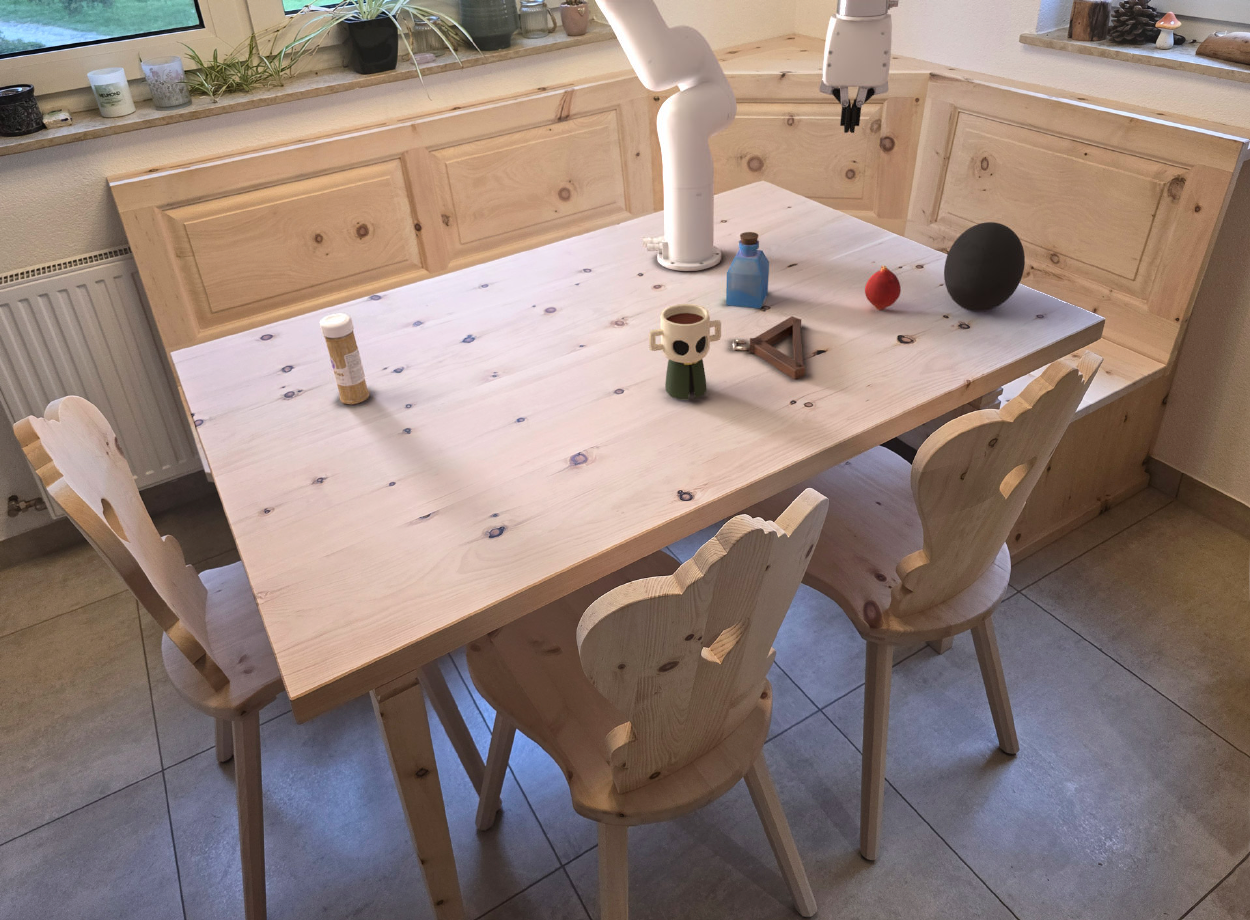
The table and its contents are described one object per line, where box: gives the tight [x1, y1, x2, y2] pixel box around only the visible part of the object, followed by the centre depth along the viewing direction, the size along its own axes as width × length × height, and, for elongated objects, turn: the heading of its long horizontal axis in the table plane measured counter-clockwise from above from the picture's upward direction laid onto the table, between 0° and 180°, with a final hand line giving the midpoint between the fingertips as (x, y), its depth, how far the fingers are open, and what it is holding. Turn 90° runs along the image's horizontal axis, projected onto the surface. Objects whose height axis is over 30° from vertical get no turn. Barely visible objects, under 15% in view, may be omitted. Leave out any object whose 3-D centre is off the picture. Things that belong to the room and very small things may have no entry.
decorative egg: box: [943, 221, 1026, 312], centre depth 149 cm, size 12×12×15 cm
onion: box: [864, 265, 902, 311], centre depth 152 cm, size 6×6×8 cm
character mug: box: [648, 303, 722, 401], centre depth 131 cm, size 11×7×13 cm, turn 104°
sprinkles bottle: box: [319, 313, 370, 405], centre depth 134 cm, size 5×5×13 cm
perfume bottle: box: [725, 231, 770, 309], centre depth 157 cm, size 6×6×12 cm
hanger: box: [732, 315, 806, 380], centre depth 144 cm, size 11×18×2 cm, turn 173°
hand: (849, 130), depth 145 cm, fingers closed
